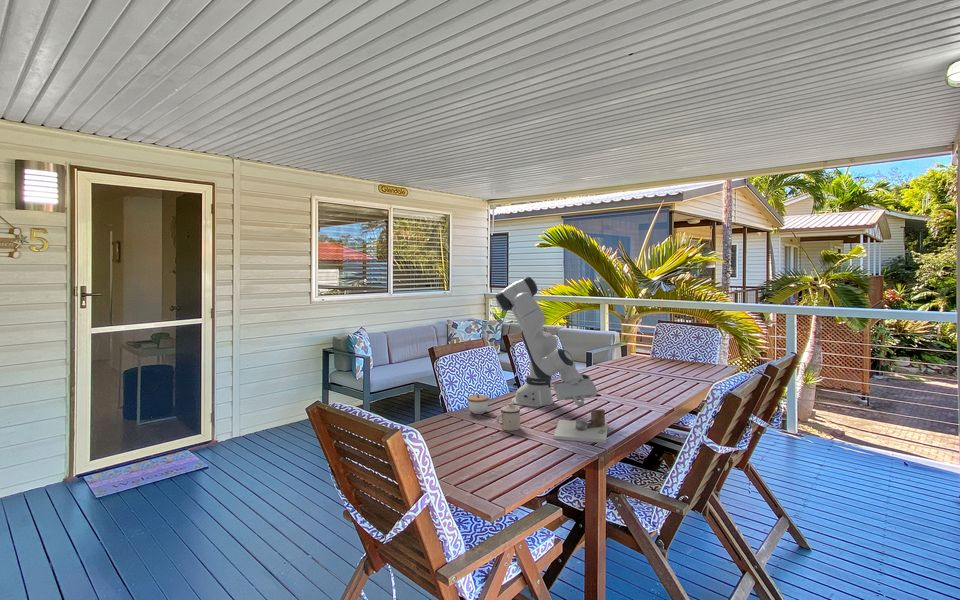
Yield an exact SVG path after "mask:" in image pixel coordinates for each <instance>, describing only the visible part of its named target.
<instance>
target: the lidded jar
mask: <svg viewBox="0 0 960 600" xmlns="http://www.w3.org/2000/svg"><path fill="white" fill-rule="evenodd" d="M489 398H490V397H489V396H488V395H486V394H479V393H477V394H473V395H469V396H468V397H467V404H468V408H469V410H470V411H471V412H472V414H475V415H482V414H484V413H485V412H486V411H487V409H488V406H489V401H490V399H489Z"/></svg>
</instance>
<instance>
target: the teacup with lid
mask: <svg viewBox="0 0 960 600" xmlns="http://www.w3.org/2000/svg"><path fill="white" fill-rule="evenodd" d="M499 419H500V420H501V421H500V420H499ZM496 423H497V425H499V426H501V427H500V428H501V430H504V431H508V432H511V431H512V432H515V431H518V430H520V429H521V408H520V407H519V406H516V405H515V404H512V402H508V404H507V405H505V406H502V407H501V408H500V413H499V414H498V415H496Z"/></svg>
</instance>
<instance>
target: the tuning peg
mask: <svg viewBox="0 0 960 600" xmlns="http://www.w3.org/2000/svg"><path fill="white" fill-rule="evenodd" d="M605 416H606V410H605V409H603V408H600V409H595V410H590V422H591V423H587V422H588V421H585V420H575V421H576V429H579V430H586V429H587V428H590V427H597V426H604V425H605V423H606V420H605V419H606V417H605Z"/></svg>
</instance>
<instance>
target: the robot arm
mask: <svg viewBox="0 0 960 600" xmlns="http://www.w3.org/2000/svg"><path fill="white" fill-rule="evenodd" d="M537 293H538V285H537V282H536V280H534V278H532V277H530V276H525V277H522V279H521V278H520V279H518V280H516V281H514V282H513V283H511V284H510V285H508V286H507V287H505V288H503V289H502V290H500V291H499V292H498V293H497V294H496V295H495V302H496V304H497V306H498V308H499V309H501V310H502V311H505V312H507V311H508V312H509V311H510V312H512V314H513V316H514V317H515V320H516V321H517V323H518V325H519V327H520V330H521V338H522V342H523V344H524V346H525V348H526V349H525V350H526V351H527V354H528V357H529V359H530V360H529V374H527V375H526V377H525V383H524V384H523V385H521V386H520V387H519V388H518V389H517V390H516V392H515V396H514V397H512V398H511V403H512V404H513V405H518V406H526V407H535V408H540V407H544V406H550V405H552V404H554V399H553V396H552V395H553V394H552V387H553V390H554V393H555V396H556V399H557V400H558V401H567V400H568V401H569V400H570V401H572V402H574V403H575V404H576V406H577V407H579V408H581V407H585V399H591V398H595V397H596V396H597V395H598V389H597V387H596V385H595V383H594V382H593V381H592V380H591V376H590V375H589V374H583V373H581V372H579V371H578V369H577V367H576V363H575V361H574V358H573V357H572V354H571V353H570V352H569V351H568V350H567V349H563V348H558V343H559V342H558V339H557V338H556V336H555V335H554V334H552V333H550V332H548V331H543V330H542V328H543V326H544V325H545V321H546V318H545V314H544V311H543V310H542V309H541V306H540V305H539V304H538V302H537V301H536V299H535V298H534V296H535V295H536V294H537ZM558 373H559V374H560V375H559V376H560V379H561V381H555V382H554V383H553V384H552V377H553V376H554V375H556V374H558ZM579 400H580V401H579Z"/></svg>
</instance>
